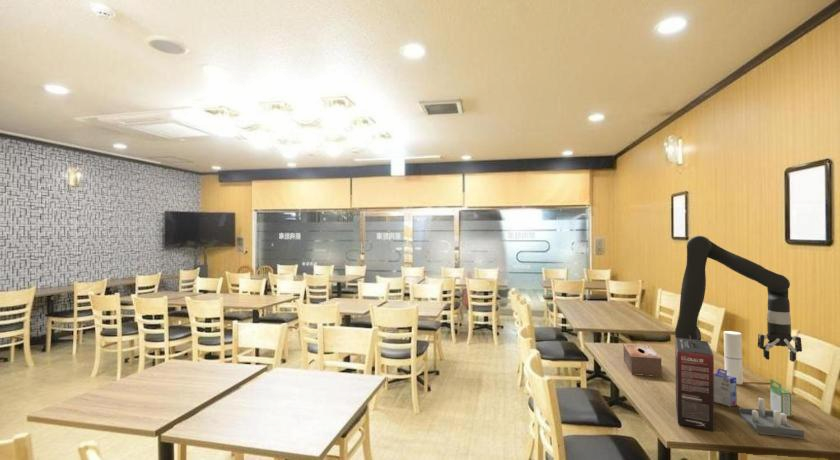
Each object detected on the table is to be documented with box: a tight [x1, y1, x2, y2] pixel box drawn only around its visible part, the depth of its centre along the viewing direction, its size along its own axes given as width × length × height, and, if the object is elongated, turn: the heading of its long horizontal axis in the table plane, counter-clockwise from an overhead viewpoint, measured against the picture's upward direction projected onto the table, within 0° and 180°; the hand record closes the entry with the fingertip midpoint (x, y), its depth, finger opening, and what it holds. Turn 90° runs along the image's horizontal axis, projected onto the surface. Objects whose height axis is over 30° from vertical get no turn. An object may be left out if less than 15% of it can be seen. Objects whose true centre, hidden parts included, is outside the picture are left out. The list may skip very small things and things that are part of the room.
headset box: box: [674, 335, 715, 432], centre depth 168 cm, size 24×13×33 cm, turn 149°
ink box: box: [769, 378, 793, 418], centre depth 169 cm, size 7×4×13 cm, turn 168°
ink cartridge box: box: [714, 368, 738, 407], centre depth 181 cm, size 10×6×14 cm, turn 27°
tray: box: [738, 397, 805, 440], centre depth 158 cm, size 14×17×8 cm
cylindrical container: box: [723, 330, 744, 385], centre depth 206 cm, size 7×7×25 cm
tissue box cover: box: [623, 343, 663, 378], centre depth 229 cm, size 26×14×10 cm, turn 162°
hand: (779, 360), depth 170 cm, fingers open, 8 cm apart
